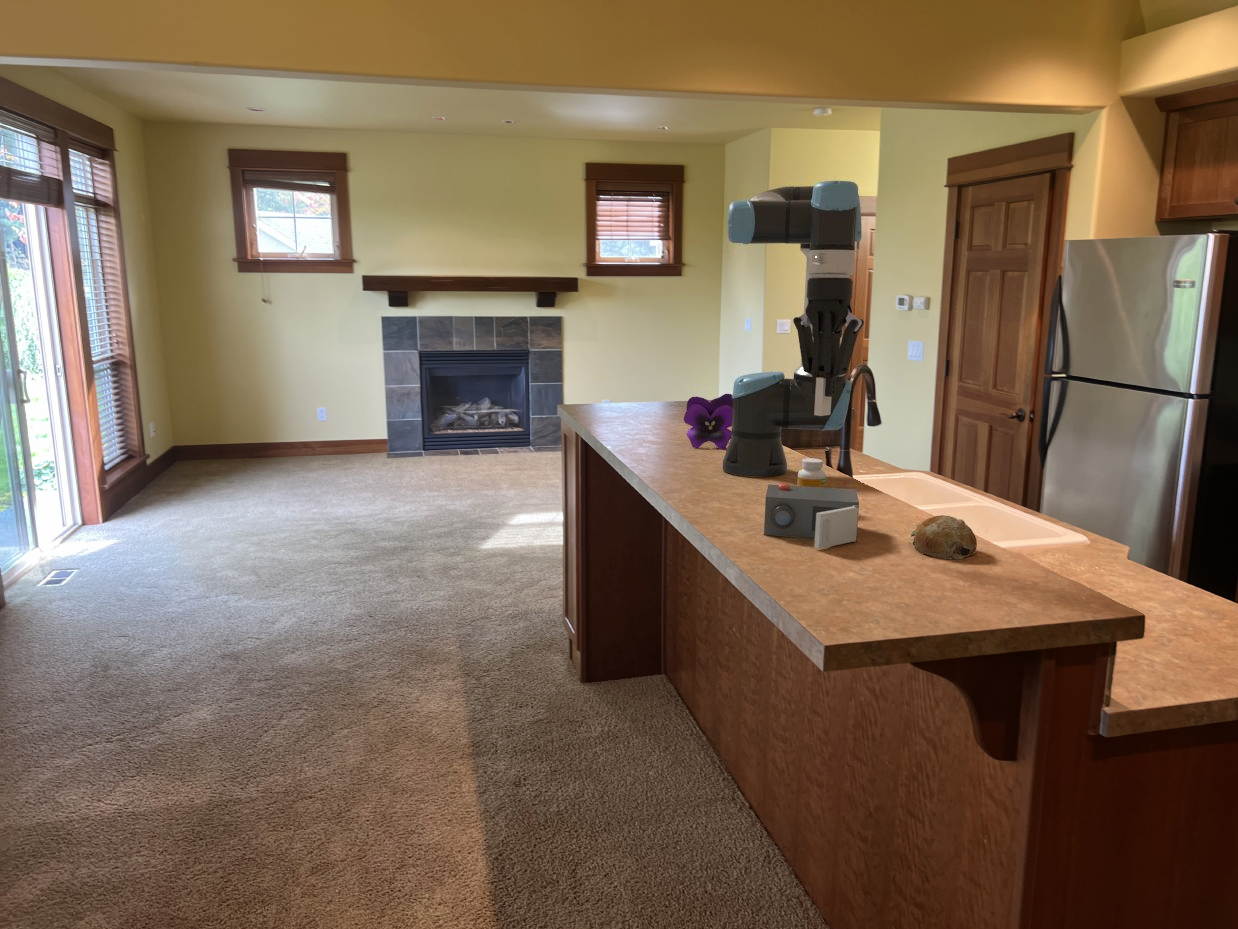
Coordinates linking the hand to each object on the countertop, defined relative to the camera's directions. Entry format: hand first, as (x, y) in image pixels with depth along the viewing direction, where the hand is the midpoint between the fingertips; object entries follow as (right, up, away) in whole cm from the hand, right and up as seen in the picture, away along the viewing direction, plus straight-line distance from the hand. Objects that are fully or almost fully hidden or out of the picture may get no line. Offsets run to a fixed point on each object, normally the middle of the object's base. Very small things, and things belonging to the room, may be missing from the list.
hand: (822, 414), depth 155 cm
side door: (+2, -23, -3) cm, 23 cm away
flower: (-10, -4, +90) cm, 90 cm away
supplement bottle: (+3, -18, +23) cm, 29 cm away
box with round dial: (-1, -21, +7) cm, 22 cm away
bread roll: (+19, -24, -4) cm, 31 cm away
